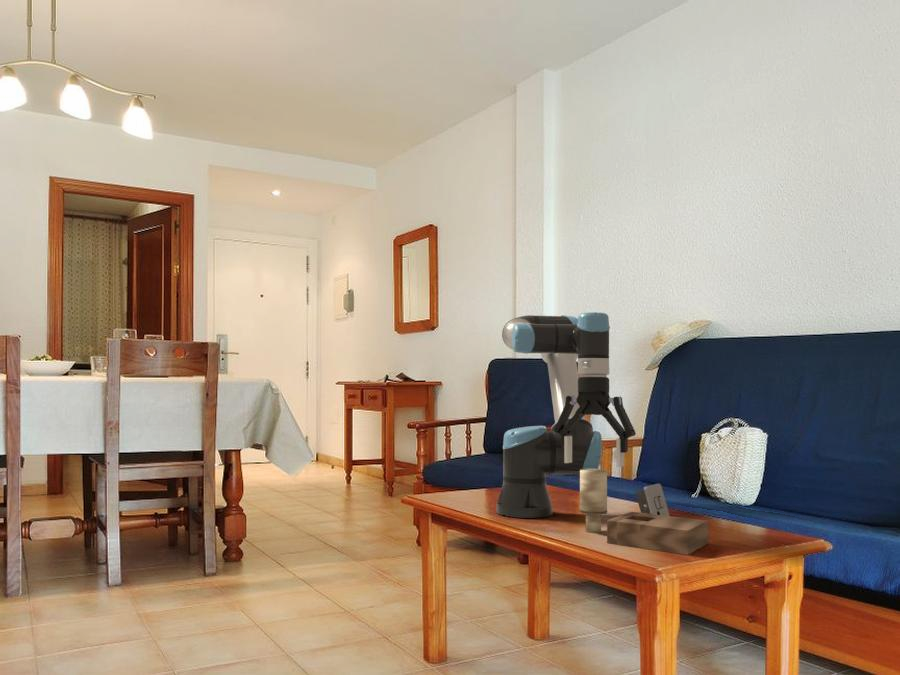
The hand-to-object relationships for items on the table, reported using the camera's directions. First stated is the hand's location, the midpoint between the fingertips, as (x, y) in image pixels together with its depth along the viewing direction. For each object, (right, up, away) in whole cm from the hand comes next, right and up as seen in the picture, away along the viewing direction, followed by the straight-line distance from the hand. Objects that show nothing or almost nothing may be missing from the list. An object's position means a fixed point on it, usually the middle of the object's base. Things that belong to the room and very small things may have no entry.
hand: (593, 464), depth 178 cm
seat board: (+12, -15, -13) cm, 23 cm away
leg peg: (0, -16, -1) cm, 16 cm away
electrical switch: (+18, -17, +15) cm, 29 cm away
